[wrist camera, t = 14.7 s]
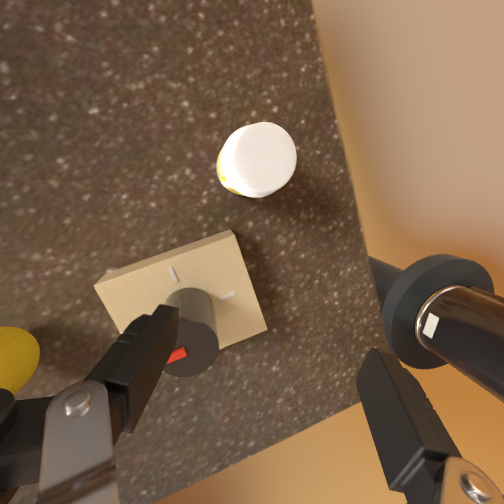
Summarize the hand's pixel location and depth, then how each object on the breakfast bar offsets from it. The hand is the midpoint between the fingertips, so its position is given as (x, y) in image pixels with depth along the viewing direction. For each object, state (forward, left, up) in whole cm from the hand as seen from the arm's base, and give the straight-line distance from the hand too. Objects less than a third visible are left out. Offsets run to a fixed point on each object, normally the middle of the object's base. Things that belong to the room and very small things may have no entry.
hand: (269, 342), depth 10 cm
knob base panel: (+5, +3, -15) cm, 16 cm away
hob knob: (+5, +3, -12) cm, 13 cm away
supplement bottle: (-4, -7, -15) cm, 17 cm away
